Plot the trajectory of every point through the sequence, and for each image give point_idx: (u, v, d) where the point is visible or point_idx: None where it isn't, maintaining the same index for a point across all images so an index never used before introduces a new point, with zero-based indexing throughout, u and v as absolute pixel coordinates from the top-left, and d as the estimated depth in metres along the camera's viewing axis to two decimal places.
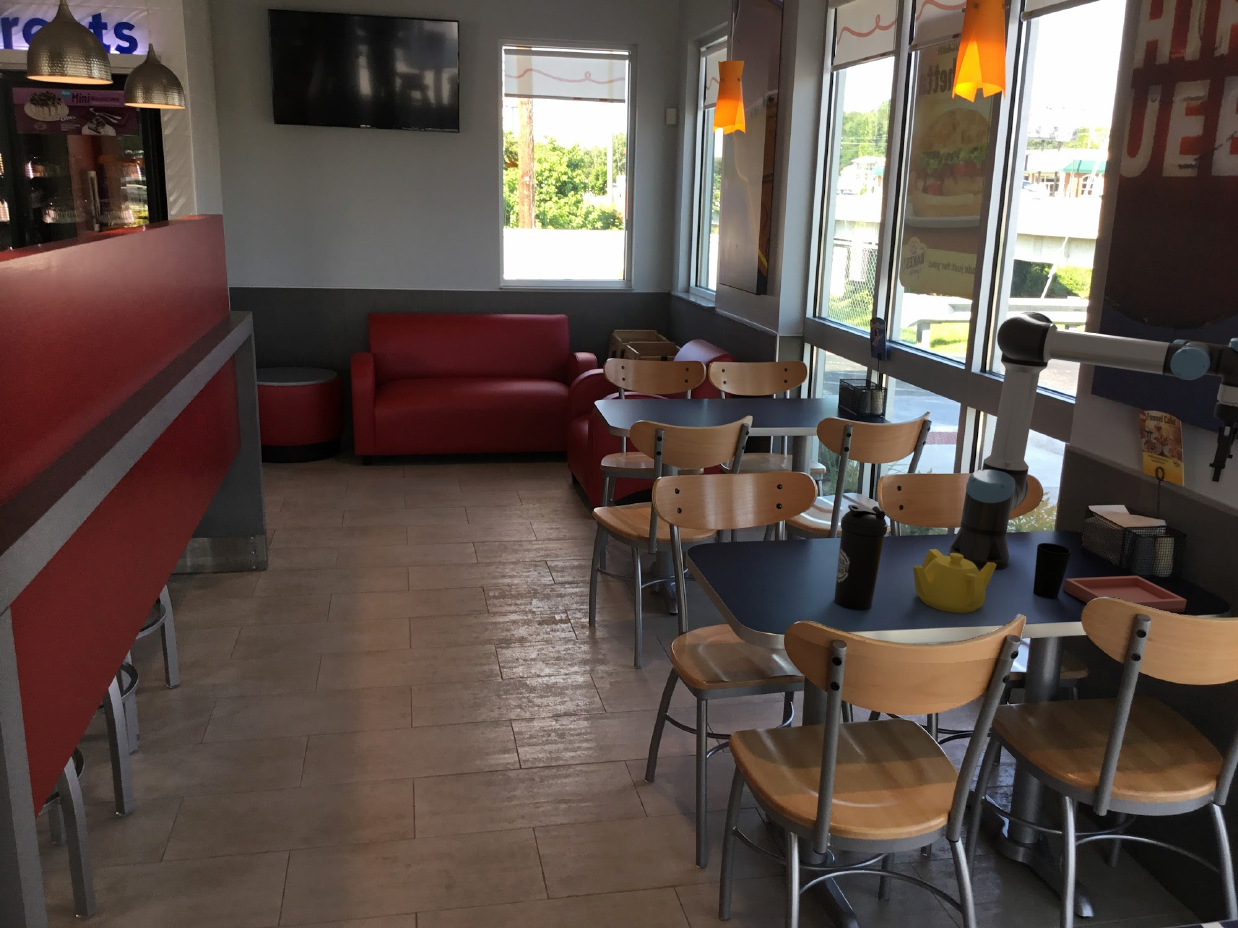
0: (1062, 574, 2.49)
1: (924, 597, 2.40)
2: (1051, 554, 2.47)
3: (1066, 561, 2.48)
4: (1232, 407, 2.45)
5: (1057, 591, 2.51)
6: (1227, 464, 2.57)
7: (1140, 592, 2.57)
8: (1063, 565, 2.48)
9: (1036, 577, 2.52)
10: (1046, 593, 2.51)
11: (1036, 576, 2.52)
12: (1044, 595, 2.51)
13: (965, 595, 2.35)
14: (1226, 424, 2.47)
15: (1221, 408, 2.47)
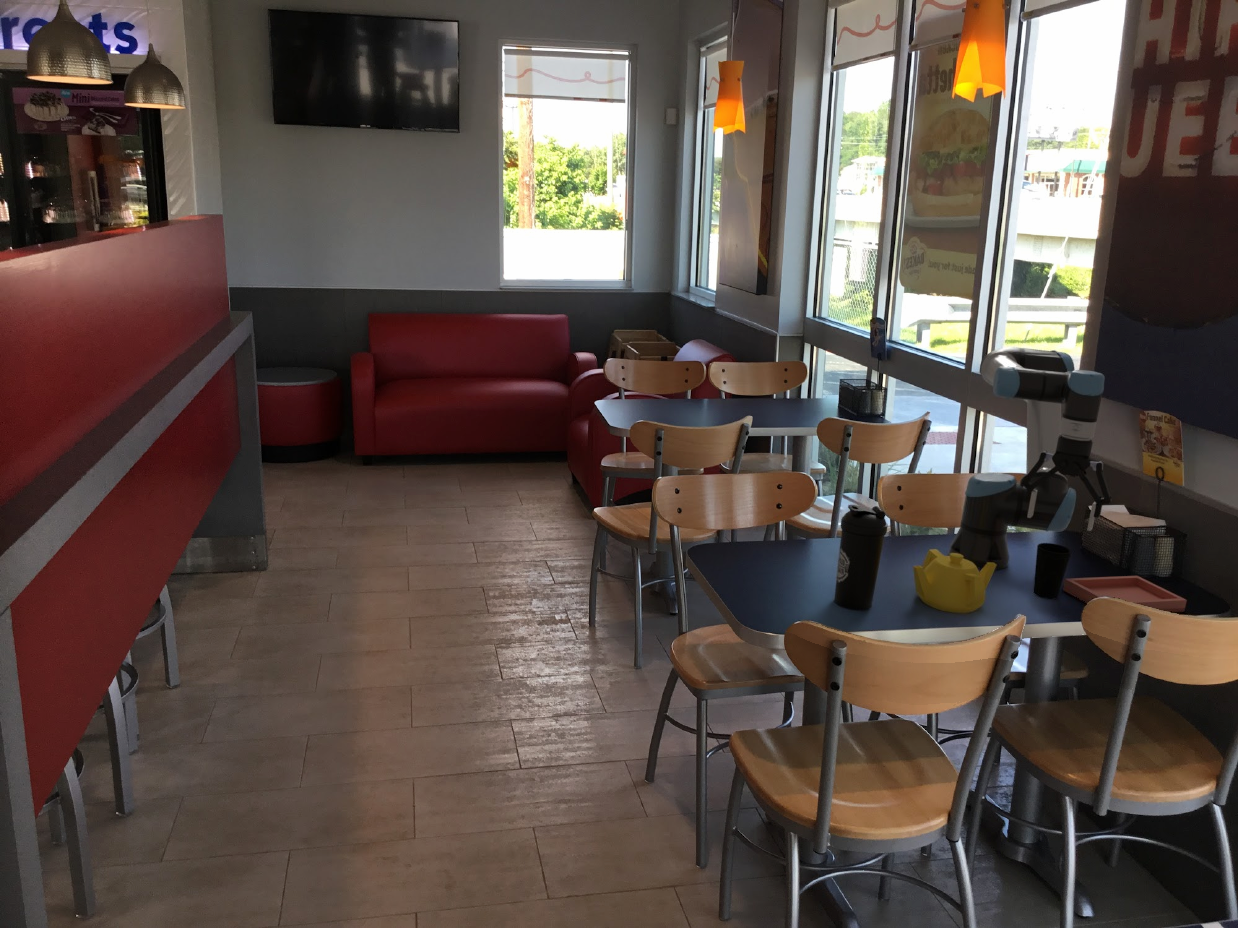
0: (1062, 574, 2.49)
1: (924, 597, 2.40)
2: (1051, 554, 2.47)
3: (1066, 561, 2.48)
4: (1059, 436, 2.45)
5: (1057, 591, 2.51)
6: (1091, 509, 2.43)
7: (1140, 592, 2.57)
8: (1063, 565, 2.48)
9: (1036, 577, 2.52)
10: (1046, 593, 2.51)
11: (1036, 576, 2.52)
12: (1044, 595, 2.51)
13: (965, 595, 2.35)
14: None
15: None
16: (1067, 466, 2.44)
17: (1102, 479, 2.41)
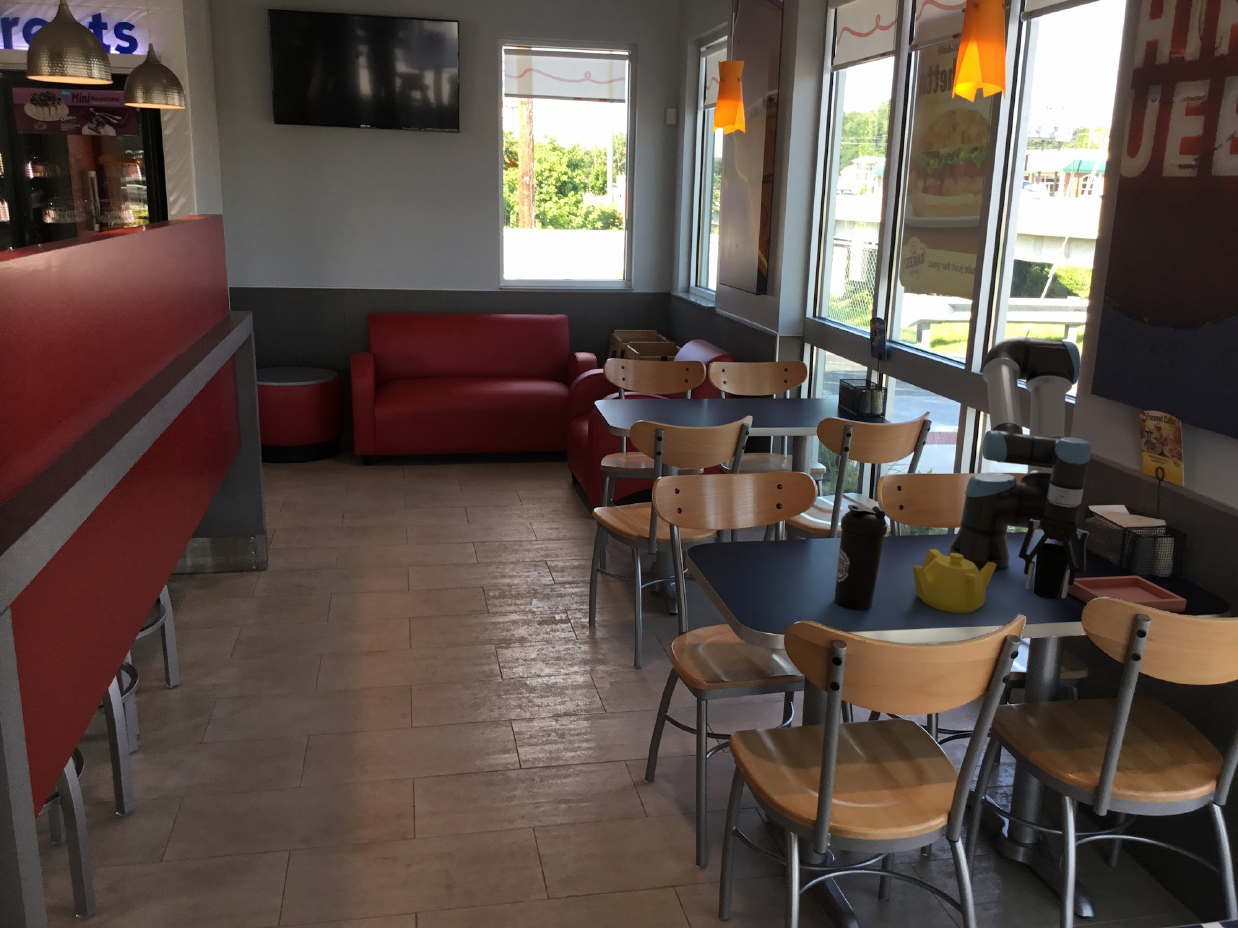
0: (1062, 574, 2.49)
1: (924, 597, 2.40)
2: (1051, 554, 2.47)
3: (1066, 561, 2.48)
4: (1047, 501, 2.50)
5: (1057, 591, 2.51)
6: (1065, 577, 2.49)
7: (1140, 592, 2.57)
8: (1063, 565, 2.48)
9: (1036, 577, 2.52)
10: (1046, 593, 2.51)
11: (1036, 576, 2.52)
12: (1044, 595, 2.51)
13: (965, 595, 2.35)
14: None
15: None
16: (1054, 531, 2.49)
17: (1083, 549, 2.46)
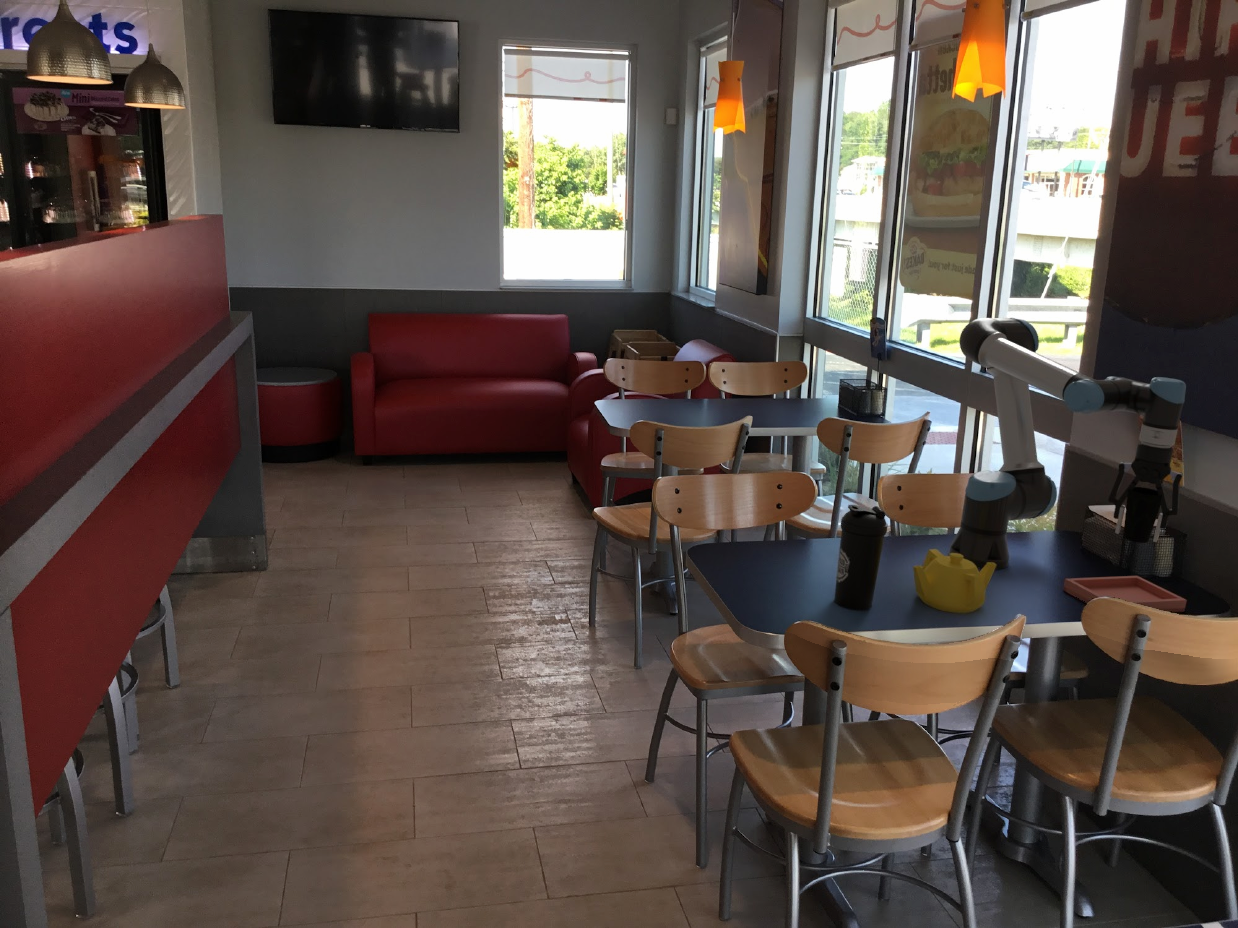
0: (1154, 517, 2.45)
1: (924, 597, 2.40)
2: (1144, 496, 2.43)
3: (1159, 504, 2.44)
4: (1139, 443, 2.45)
5: (1149, 535, 2.46)
6: None
7: (1140, 592, 2.57)
8: (1156, 508, 2.44)
9: (1127, 521, 2.48)
10: (1137, 537, 2.46)
11: (1127, 520, 2.48)
12: (1135, 539, 2.47)
13: (965, 594, 2.35)
14: None
15: None
16: (1147, 473, 2.44)
17: (1177, 490, 2.42)
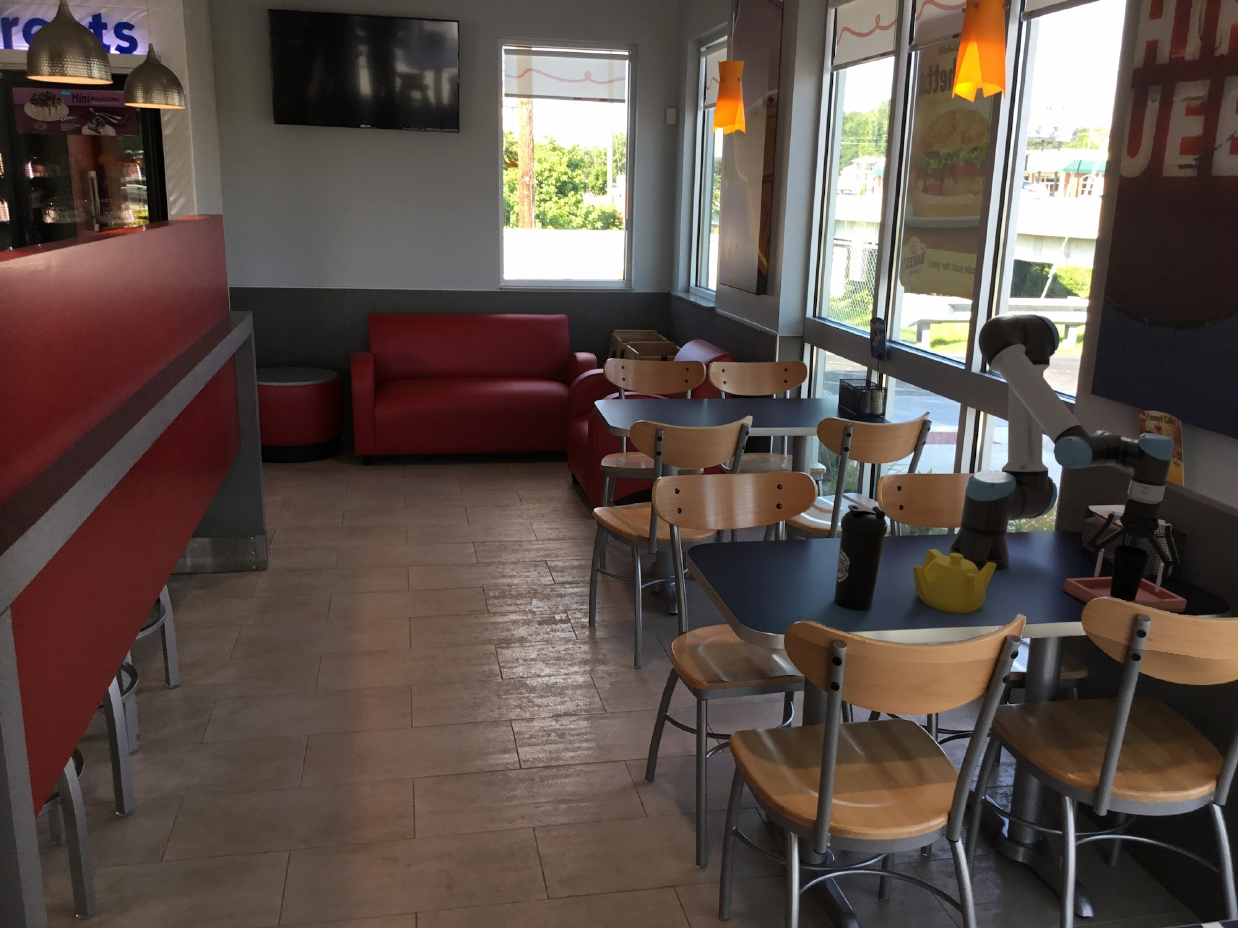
0: (1140, 576, 2.49)
1: (924, 597, 2.40)
2: (1130, 556, 2.47)
3: (1145, 563, 2.48)
4: (1127, 497, 2.49)
5: (1135, 593, 2.50)
6: (1159, 570, 2.46)
7: (1140, 592, 2.57)
8: (1142, 567, 2.48)
9: (1114, 579, 2.52)
10: (1124, 595, 2.50)
11: (1114, 578, 2.52)
12: (1122, 597, 2.51)
13: (965, 594, 2.35)
14: None
15: None
16: (1135, 527, 2.48)
17: (1171, 541, 2.44)
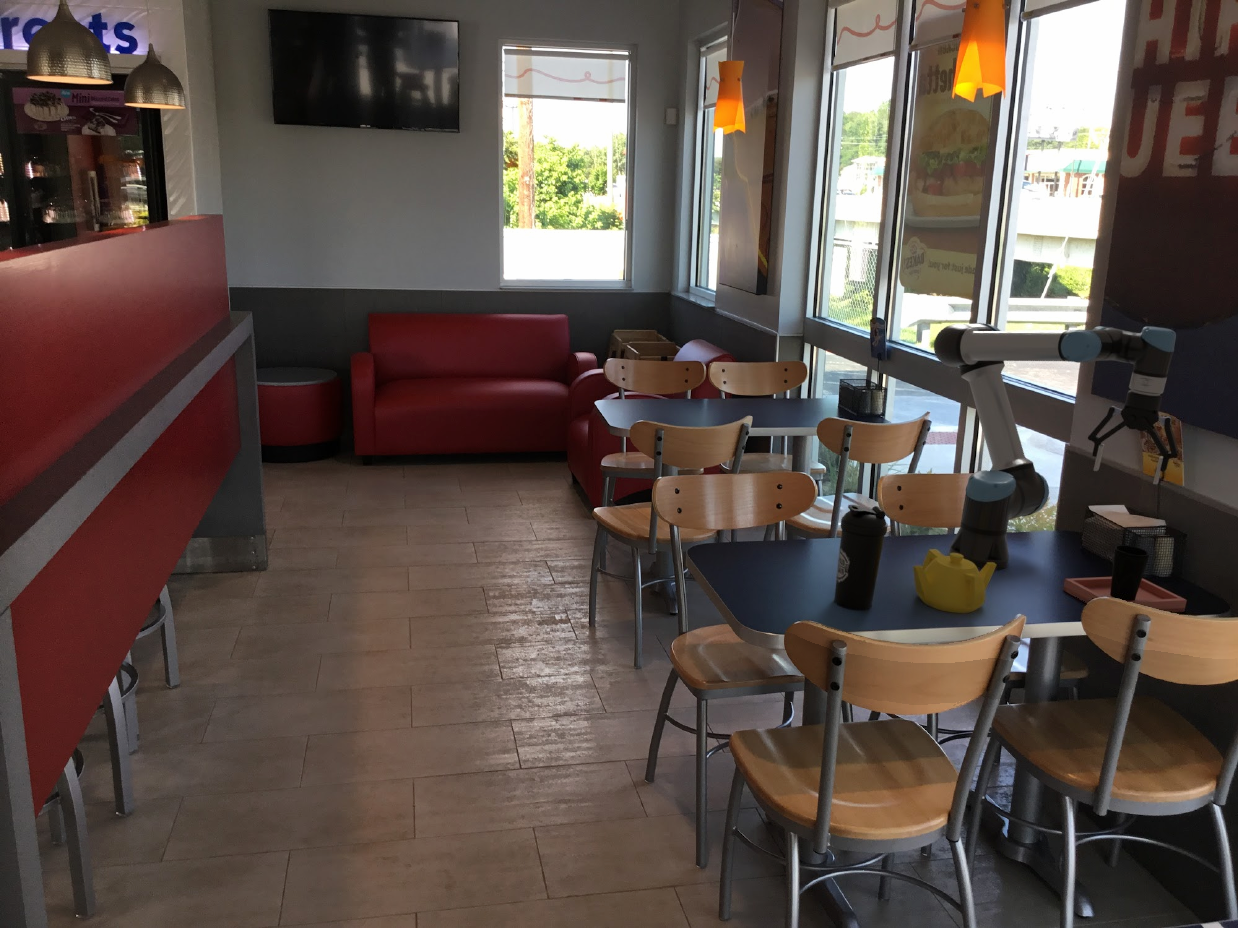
0: (1140, 576, 2.49)
1: (924, 597, 2.40)
2: (1130, 556, 2.47)
3: (1145, 563, 2.48)
4: (1129, 391, 2.51)
5: (1135, 593, 2.50)
6: None
7: (1140, 592, 2.57)
8: (1142, 567, 2.48)
9: (1113, 579, 2.52)
10: (1124, 595, 2.50)
11: (1113, 578, 2.52)
12: (1122, 597, 2.51)
13: (965, 594, 2.35)
14: None
15: None
16: (1135, 421, 2.50)
17: (1170, 434, 2.47)
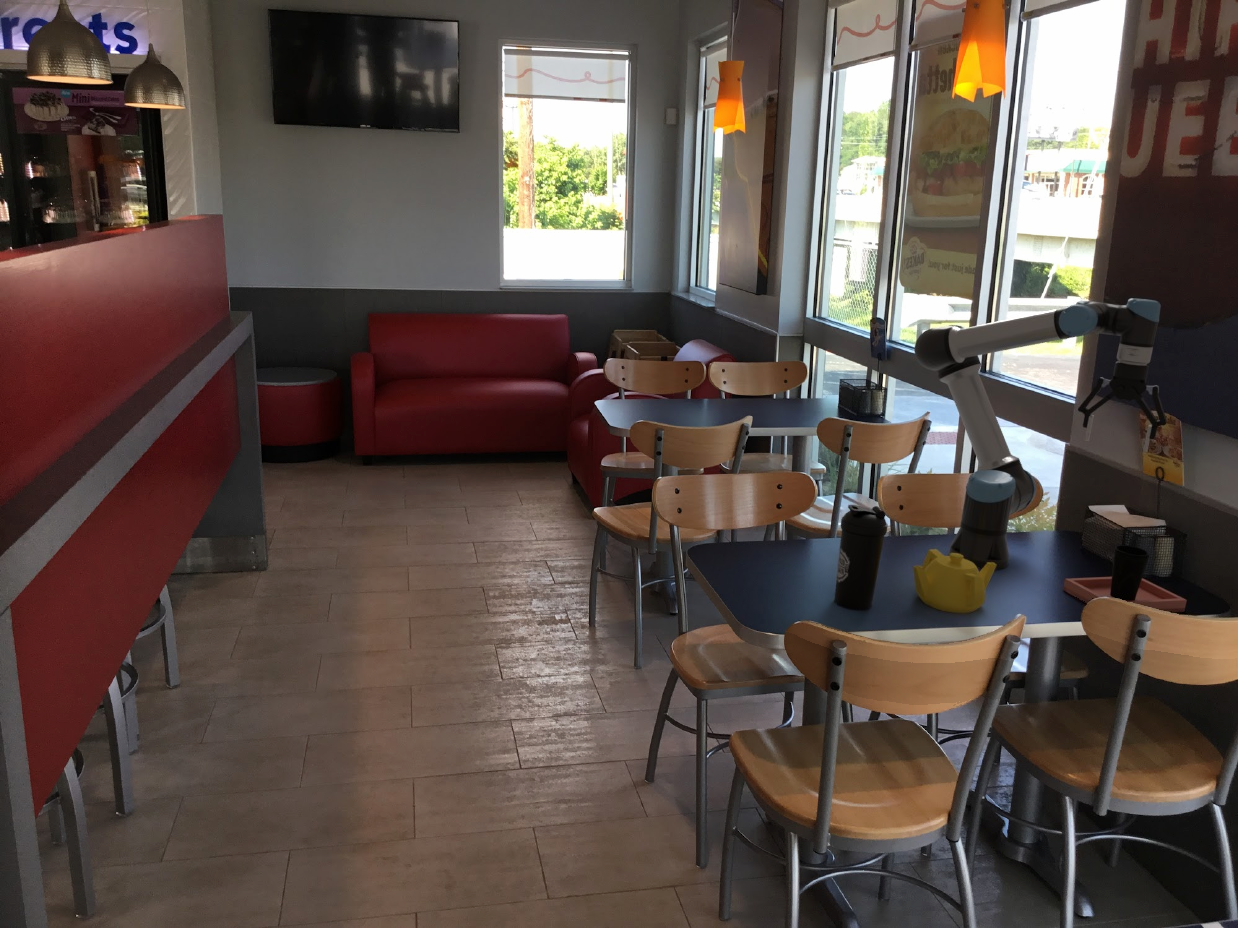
0: (1140, 576, 2.49)
1: (924, 597, 2.40)
2: (1130, 556, 2.47)
3: (1145, 563, 2.48)
4: (1116, 362, 2.58)
5: (1135, 593, 2.50)
6: (1147, 431, 2.55)
7: (1140, 592, 2.57)
8: (1142, 567, 2.48)
9: (1114, 579, 2.52)
10: (1124, 595, 2.50)
11: (1114, 578, 2.52)
12: (1122, 597, 2.51)
13: (965, 595, 2.35)
14: None
15: None
16: (1124, 391, 2.57)
17: (1158, 402, 2.53)
